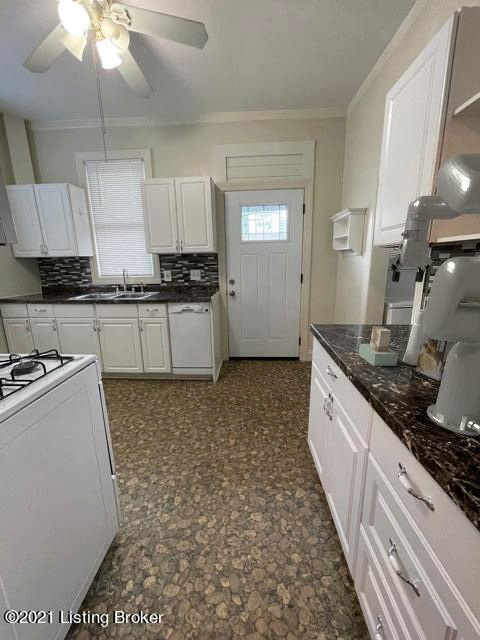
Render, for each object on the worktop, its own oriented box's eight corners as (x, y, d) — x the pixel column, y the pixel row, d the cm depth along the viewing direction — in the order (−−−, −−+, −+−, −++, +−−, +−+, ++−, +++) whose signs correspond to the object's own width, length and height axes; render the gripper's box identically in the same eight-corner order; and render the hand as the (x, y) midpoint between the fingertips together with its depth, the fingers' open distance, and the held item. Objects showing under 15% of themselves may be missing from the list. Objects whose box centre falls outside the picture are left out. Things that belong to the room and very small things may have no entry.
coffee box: (451, 378, 95) (461, 336, 91) (438, 381, 93) (449, 337, 89) (425, 368, 103) (434, 328, 99) (414, 370, 101) (422, 330, 97)
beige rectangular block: (386, 359, 107) (391, 330, 104) (376, 359, 107) (381, 330, 104) (377, 353, 113) (382, 326, 110) (368, 353, 113) (372, 326, 110)
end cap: (396, 365, 105) (398, 353, 104) (373, 365, 104) (375, 353, 103) (379, 354, 116) (381, 343, 115) (358, 354, 116) (360, 343, 114)
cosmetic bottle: (400, 358, 112) (409, 307, 106) (415, 360, 111) (425, 308, 106) (406, 364, 106) (416, 311, 101) (422, 366, 105) (434, 311, 100)
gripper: (399, 234, 95) (392, 282, 100) (444, 236, 97) (435, 283, 101) (387, 236, 103) (380, 280, 107) (428, 237, 104) (420, 281, 108)
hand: (406, 281), depth 104 cm, fingers open, 9 cm apart
